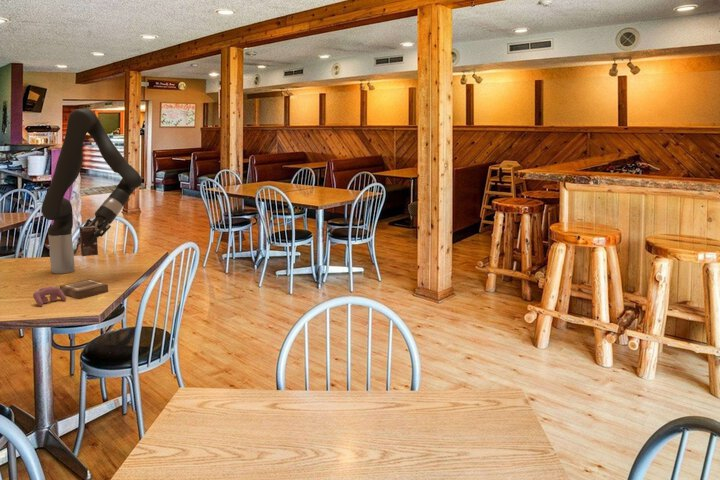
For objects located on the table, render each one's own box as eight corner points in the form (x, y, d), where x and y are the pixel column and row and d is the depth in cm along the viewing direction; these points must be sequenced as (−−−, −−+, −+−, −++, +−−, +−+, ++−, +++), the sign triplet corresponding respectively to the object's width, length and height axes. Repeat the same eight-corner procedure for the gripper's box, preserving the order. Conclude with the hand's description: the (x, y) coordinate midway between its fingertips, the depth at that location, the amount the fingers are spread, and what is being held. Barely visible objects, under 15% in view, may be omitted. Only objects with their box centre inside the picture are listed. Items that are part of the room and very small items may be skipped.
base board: (60, 293, 210) (59, 285, 209) (89, 286, 220) (88, 278, 219) (78, 299, 203) (78, 290, 202) (108, 291, 213) (107, 283, 212)
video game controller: (62, 303, 203) (56, 285, 204) (67, 299, 200) (62, 282, 201) (35, 309, 195) (29, 291, 196) (40, 306, 192) (34, 288, 193)
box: (82, 256, 220) (80, 228, 218) (81, 254, 224) (78, 226, 221) (98, 255, 224) (96, 226, 221) (96, 253, 227) (94, 225, 225)
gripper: (92, 203, 230) (67, 234, 222) (113, 206, 222) (87, 239, 215) (105, 214, 235) (81, 245, 228) (125, 217, 228) (101, 249, 220)
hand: (84, 242), depth 221 cm, fingers closed on box, 5 cm apart
